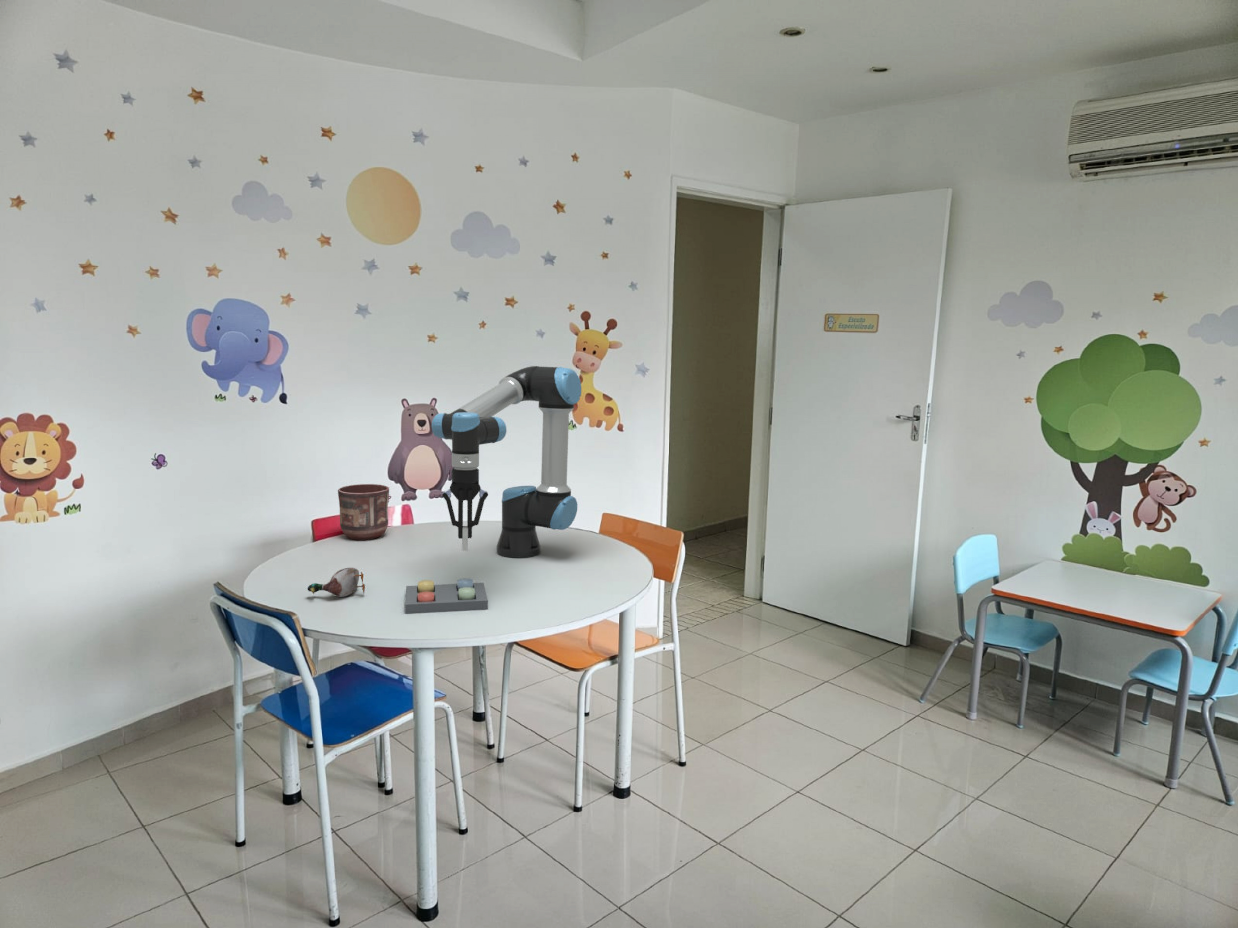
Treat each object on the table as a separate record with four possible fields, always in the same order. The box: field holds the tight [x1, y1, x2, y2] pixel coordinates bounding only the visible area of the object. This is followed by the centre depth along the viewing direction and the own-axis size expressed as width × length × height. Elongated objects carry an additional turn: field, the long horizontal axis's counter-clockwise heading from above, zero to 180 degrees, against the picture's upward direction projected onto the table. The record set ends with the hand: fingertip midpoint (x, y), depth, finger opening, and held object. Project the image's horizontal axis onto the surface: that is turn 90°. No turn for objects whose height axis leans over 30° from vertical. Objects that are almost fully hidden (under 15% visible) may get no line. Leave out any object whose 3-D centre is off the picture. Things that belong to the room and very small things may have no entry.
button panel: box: [404, 582, 489, 615], centre depth 220 cm, size 22×16×2 cm
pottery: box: [337, 483, 390, 541], centre depth 285 cm, size 18×18×18 cm
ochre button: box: [417, 579, 435, 593], centre depth 223 cm, size 4×4×3 cm
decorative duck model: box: [307, 567, 366, 598], centre depth 224 cm, size 15×8×15 cm
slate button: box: [456, 578, 474, 591], centre depth 225 cm, size 4×4×3 cm
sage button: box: [459, 587, 475, 600], centre depth 218 cm, size 4×4×3 cm
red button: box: [418, 591, 434, 602], centre depth 215 cm, size 4×4×3 cm
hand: (464, 549), depth 223 cm, fingers closed
